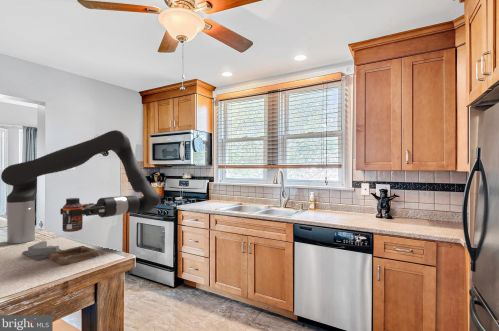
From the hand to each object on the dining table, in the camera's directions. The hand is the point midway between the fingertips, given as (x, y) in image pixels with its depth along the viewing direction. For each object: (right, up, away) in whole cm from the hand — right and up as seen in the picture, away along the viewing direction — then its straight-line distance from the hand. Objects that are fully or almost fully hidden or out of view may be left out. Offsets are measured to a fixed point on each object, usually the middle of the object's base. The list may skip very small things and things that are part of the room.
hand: (64, 212), depth 94 cm
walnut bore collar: (+2, -16, +2) cm, 16 cm away
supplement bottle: (+1, -7, +2) cm, 7 cm away
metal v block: (-12, -16, +7) cm, 21 cm away
